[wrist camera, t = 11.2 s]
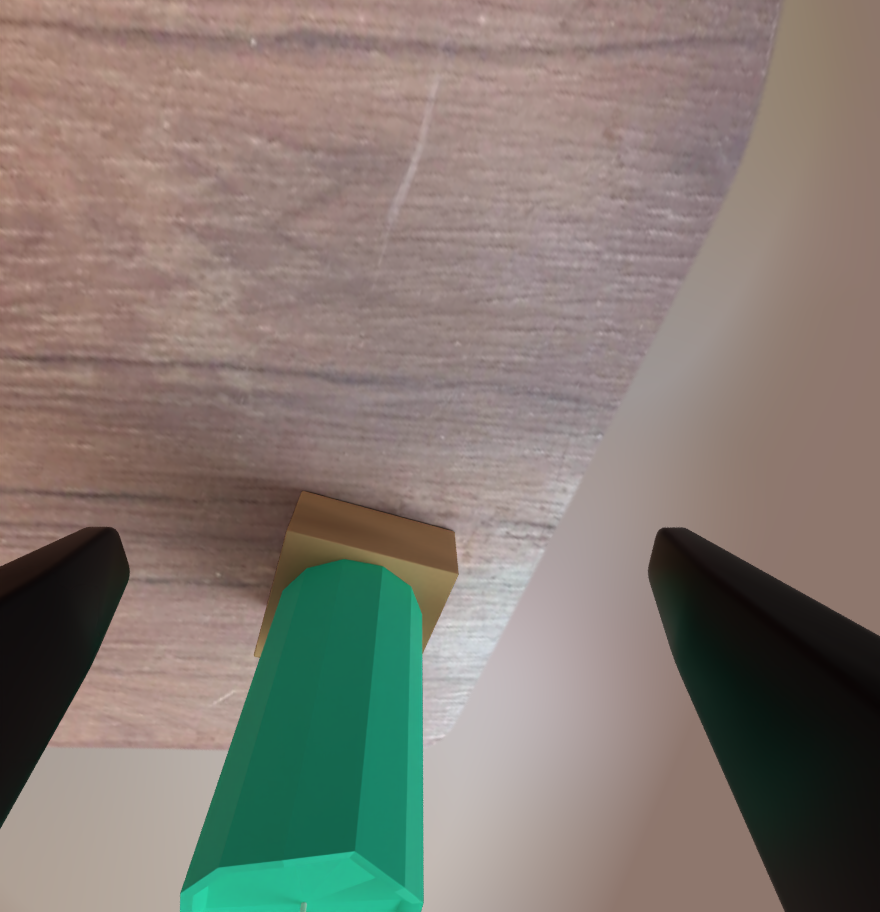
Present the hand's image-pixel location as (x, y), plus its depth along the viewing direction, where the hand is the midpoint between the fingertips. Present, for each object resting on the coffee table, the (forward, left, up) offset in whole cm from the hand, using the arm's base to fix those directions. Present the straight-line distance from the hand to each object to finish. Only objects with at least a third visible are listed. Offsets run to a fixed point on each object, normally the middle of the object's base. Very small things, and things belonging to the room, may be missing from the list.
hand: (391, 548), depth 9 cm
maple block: (-6, +9, -13) cm, 17 cm away
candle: (-6, +9, -10) cm, 15 cm away
